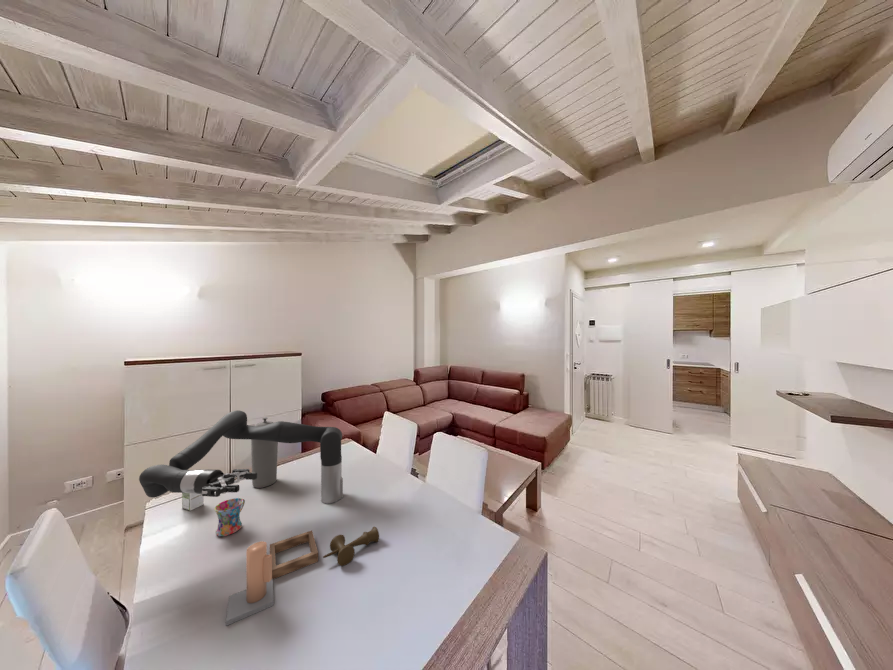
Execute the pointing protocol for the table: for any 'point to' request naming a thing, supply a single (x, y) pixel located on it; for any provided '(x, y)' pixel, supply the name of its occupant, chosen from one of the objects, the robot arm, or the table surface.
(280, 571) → the walnut collar
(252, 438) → the robot arm
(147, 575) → the table surface
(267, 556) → the peach cylinder post
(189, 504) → the syrup box
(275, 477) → the canister
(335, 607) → the table surface
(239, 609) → the slate mat
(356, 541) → the kendama
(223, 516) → the mug
